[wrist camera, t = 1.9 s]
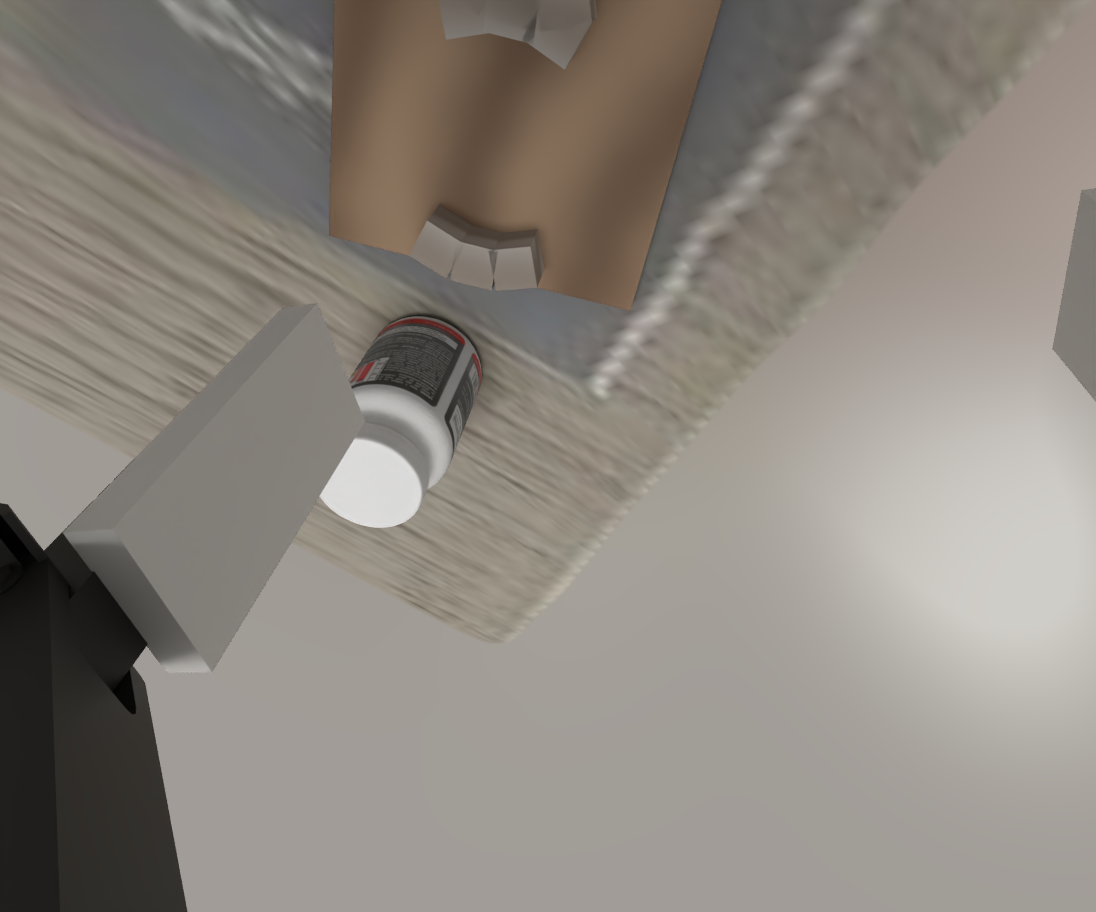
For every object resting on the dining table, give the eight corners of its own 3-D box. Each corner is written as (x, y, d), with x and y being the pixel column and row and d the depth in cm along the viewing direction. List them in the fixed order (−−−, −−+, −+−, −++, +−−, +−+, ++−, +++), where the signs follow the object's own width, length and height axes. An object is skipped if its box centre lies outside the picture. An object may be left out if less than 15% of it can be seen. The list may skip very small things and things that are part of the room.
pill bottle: (352, 348, 39) (268, 465, 31) (431, 290, 36) (362, 401, 28) (427, 427, 41) (366, 554, 33) (507, 378, 39) (462, 503, 31)
